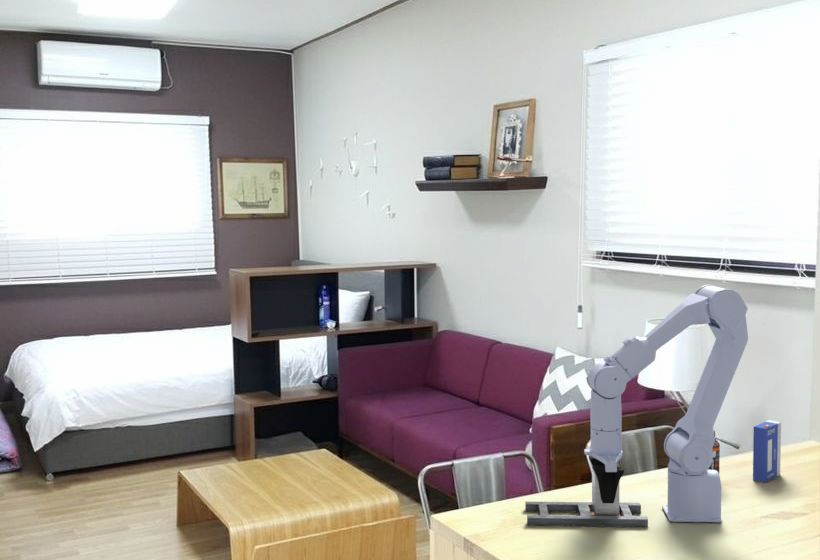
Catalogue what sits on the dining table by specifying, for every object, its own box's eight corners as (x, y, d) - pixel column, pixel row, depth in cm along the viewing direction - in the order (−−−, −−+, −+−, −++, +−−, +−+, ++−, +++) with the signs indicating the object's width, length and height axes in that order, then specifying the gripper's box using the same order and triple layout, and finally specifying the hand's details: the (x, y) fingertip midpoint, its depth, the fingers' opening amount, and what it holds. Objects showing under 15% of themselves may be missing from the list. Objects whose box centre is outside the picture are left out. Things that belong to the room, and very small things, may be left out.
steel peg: (615, 507, 167) (615, 467, 167) (619, 516, 163) (619, 474, 162) (592, 507, 168) (592, 466, 167) (595, 515, 163) (594, 474, 163)
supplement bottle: (721, 487, 182) (721, 434, 181) (691, 486, 183) (691, 433, 182) (717, 478, 188) (717, 427, 187) (688, 477, 189) (688, 426, 188)
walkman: (765, 483, 184) (766, 427, 183) (752, 480, 186) (753, 425, 185) (781, 474, 190) (782, 420, 189) (768, 471, 192) (769, 418, 191)
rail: (639, 510, 169) (639, 502, 169) (647, 527, 160) (647, 519, 160) (525, 508, 171) (525, 501, 171) (527, 525, 162) (527, 517, 162)
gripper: (580, 418, 172) (580, 485, 173) (588, 437, 157) (589, 511, 158) (616, 418, 171) (616, 485, 172) (628, 438, 157) (628, 511, 158)
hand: (606, 498), depth 165 cm, fingers closed on steel peg, 4 cm apart
